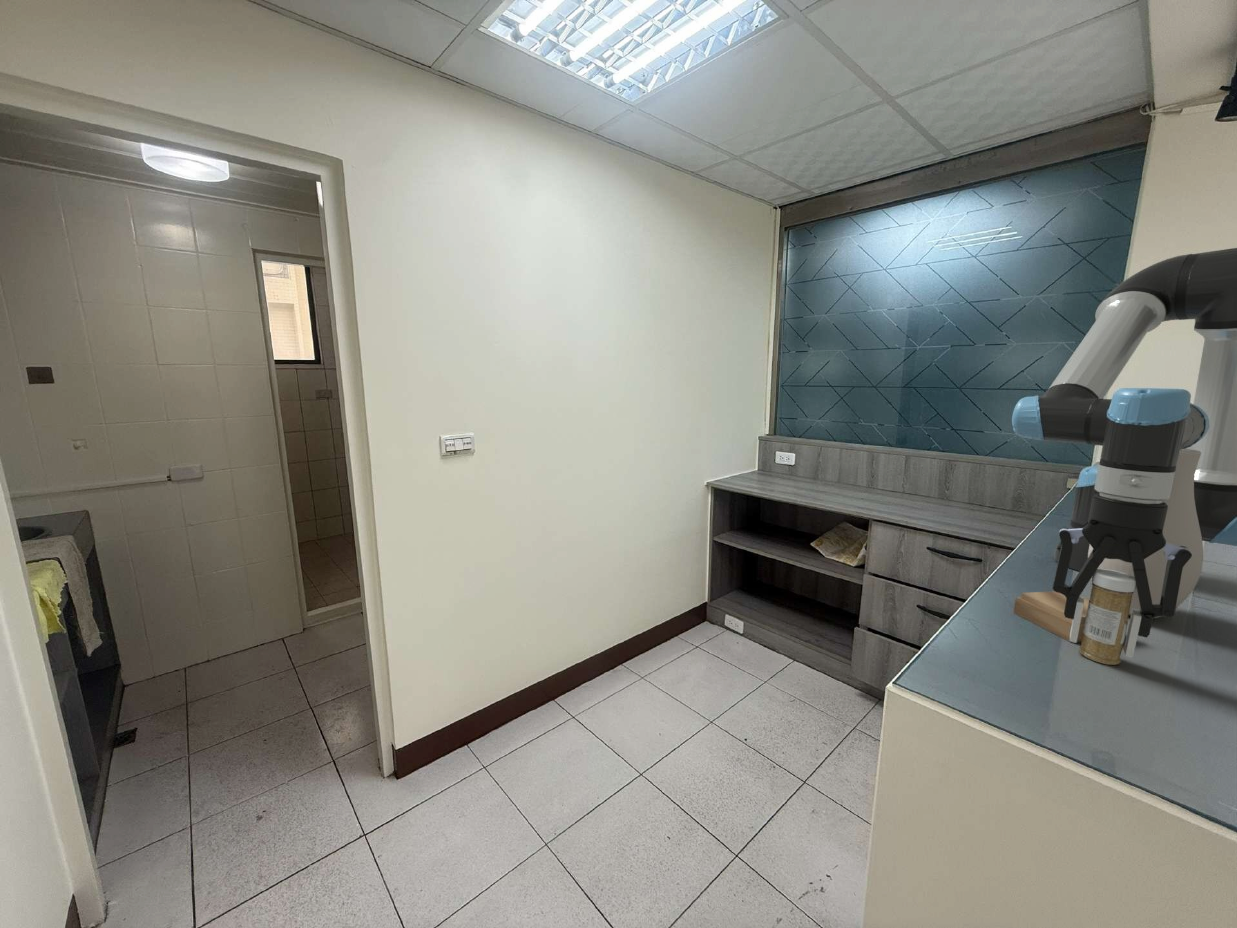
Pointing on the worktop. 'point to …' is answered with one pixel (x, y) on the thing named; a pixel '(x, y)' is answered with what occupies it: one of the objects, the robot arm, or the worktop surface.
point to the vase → (1172, 536)
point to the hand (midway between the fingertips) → (1100, 645)
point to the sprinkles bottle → (1107, 616)
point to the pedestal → (1049, 612)
